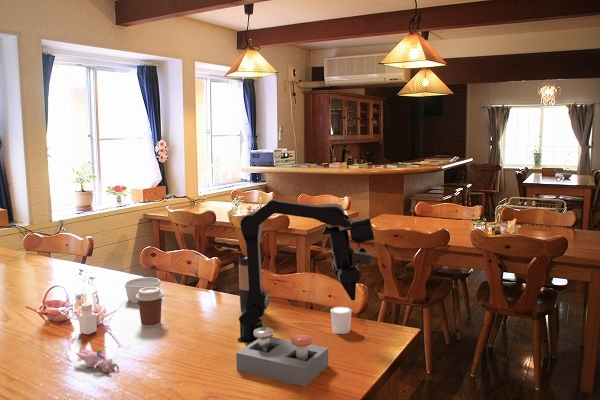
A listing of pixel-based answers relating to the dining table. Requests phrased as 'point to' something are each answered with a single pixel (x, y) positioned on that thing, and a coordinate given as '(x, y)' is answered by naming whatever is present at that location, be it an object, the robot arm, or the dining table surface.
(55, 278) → the dining table surface
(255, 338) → the robot arm
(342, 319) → the white cup
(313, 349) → the console
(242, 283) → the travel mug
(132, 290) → the ramekin
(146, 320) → the coffee cup
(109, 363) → the rabbit figure
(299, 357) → the red button
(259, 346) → the metal button
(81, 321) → the pepper shaker
